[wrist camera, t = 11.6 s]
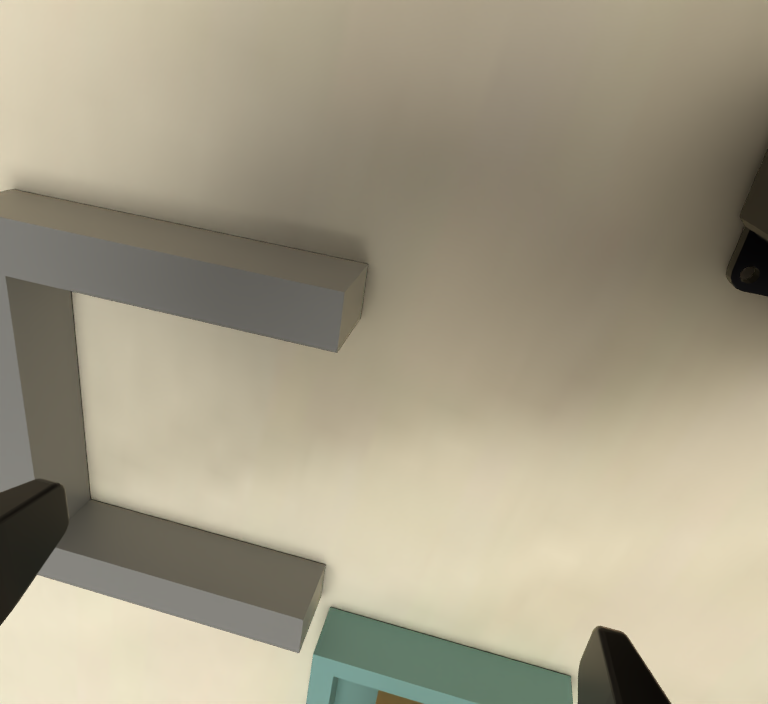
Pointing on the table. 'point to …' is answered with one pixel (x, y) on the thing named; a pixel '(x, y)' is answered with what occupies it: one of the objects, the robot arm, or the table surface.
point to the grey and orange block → (392, 699)
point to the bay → (64, 410)
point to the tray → (419, 669)
